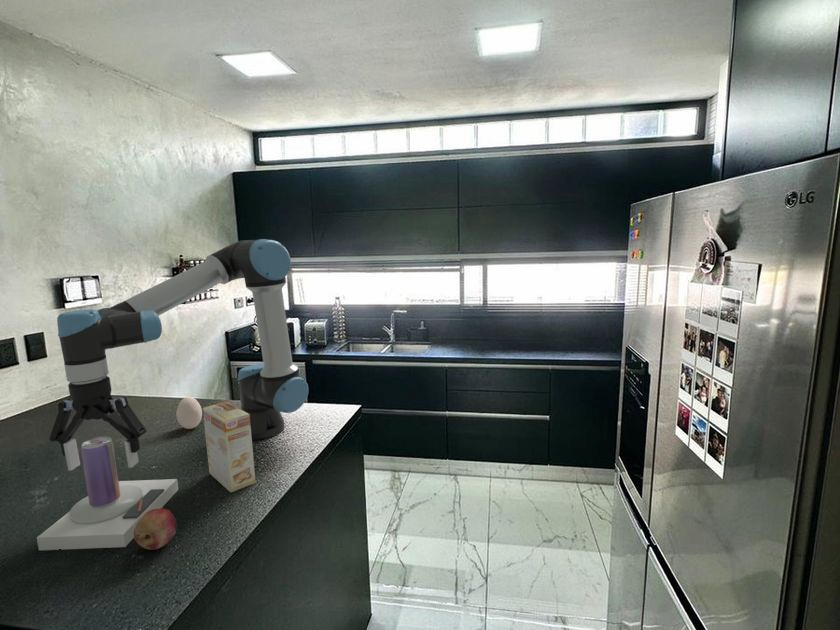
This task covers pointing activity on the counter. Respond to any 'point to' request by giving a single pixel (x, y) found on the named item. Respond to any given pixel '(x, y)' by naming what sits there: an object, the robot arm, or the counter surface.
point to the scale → (108, 517)
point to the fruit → (155, 529)
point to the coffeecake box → (229, 445)
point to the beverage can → (100, 472)
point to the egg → (189, 413)
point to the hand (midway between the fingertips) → (104, 466)
